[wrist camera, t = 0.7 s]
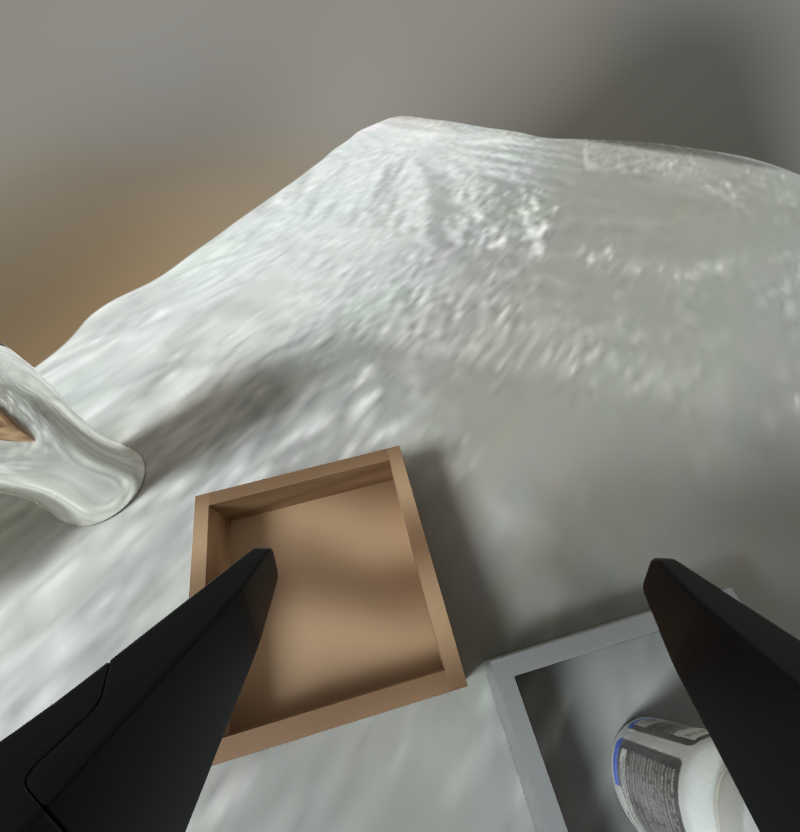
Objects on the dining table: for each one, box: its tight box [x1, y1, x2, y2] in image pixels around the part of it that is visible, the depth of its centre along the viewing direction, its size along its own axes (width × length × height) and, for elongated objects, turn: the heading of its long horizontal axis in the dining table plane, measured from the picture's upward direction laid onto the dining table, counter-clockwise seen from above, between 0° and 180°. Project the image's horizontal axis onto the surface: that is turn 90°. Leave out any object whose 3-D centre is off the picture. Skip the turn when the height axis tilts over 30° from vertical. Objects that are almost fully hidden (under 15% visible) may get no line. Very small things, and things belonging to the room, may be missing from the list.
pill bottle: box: [611, 717, 759, 832], centre depth 13 cm, size 5×5×8 cm
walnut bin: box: [189, 446, 468, 766], centre depth 21 cm, size 13×13×4 cm
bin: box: [483, 587, 742, 832], centre depth 16 cm, size 13×13×3 cm
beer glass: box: [0, 342, 145, 526], centre depth 21 cm, size 7×7×15 cm
